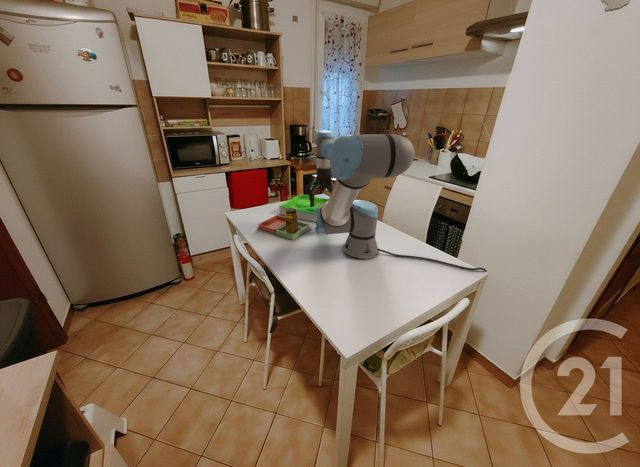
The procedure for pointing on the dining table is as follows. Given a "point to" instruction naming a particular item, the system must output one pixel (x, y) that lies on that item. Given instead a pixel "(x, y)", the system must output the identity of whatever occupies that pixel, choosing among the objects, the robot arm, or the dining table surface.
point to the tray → (303, 207)
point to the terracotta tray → (272, 224)
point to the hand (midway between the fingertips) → (323, 209)
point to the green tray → (292, 236)
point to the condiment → (291, 221)
